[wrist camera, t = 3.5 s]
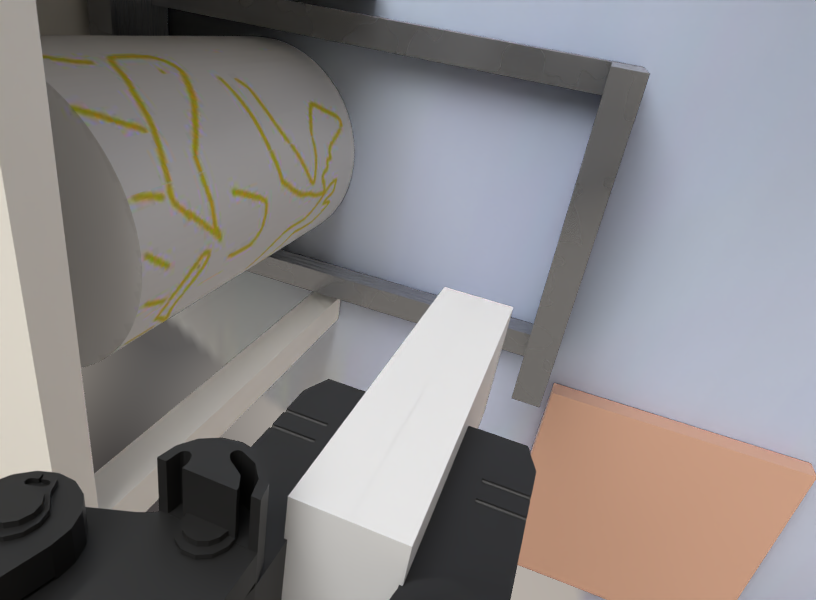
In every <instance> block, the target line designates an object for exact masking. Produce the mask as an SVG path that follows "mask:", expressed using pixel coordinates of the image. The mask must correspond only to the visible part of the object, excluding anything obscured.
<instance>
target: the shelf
mask: <svg viewBox="0 0 816 600" xmlns="http://www.w3.org/2000/svg"><path fill="white" fill-rule="evenodd" d="M40 35H90V26H89V15H88V3H87V0H0V479H1V478H4V477H7V476H9V475H12V474H18V473H25V472H32V471H45V472H55V473H60V474H62V475H64V476H66V477H68V478H71V479H73V480H75V481H76V482H77V484H78V486H79V487H80V489H81V490H82V492H83V493H84V499H85V507H92V508H102V509H112V510H121V511H131V512H146V511H147V510H148V509H149V508H150V507H151V506H152V505H153V504H154V503H155V502H156V501H157V500H158V499H159V493H158V470H157V457H158V456H160V455H162V454H163V453H165V452H166V451H168V450H169V449H171V448H173V447H174V446H176V445H179V444H182V443H186V442H189V441H192V440H195V439H200V438H220V437H221V436H222V435H223V434H224V433H225V432H226V431H227V430H228V429H229V428H230V427H231V426H232V425H233V424H234V423H235V422H236V421H237V420H238V419H239V418H240V417H241V416H242V414H244V413H245V412H246V411H247V410H248V409H249V408H250V407H251V406H252V405H253V404H254V403H255V402H256V401H257V400H258V399H259V398H260V397H261V396H262V395H263V394H264V393H265V392H266V391H267V390H268V389H269V388H270V387H271V386H272V385H273V384H274V383H275V382H276V381H277V380H278V379H279V378H280V377H281V376H282V375H283V374H284V373H285V372H286V371H287V370H288V369H289V368H290V367H291V366H292V365H293V364H294V363H295V362H296V361H297V360H298V359H299V358H300V357H301V356H302V355H303V354H304V353H305V352H306V351H307V350H308V349H309V348H310V347H311V346H312V345H313V344H314V343H315V342H316V341H317V340H318V339H319V338H320V337H321V336H322V335H323V334H324V333H325V332H326V331H327V330H328V329H329V328H330V327H331V326H332V325H333V324H334V323H335V322H336V321H337V320H338V317H339V308H340V299H337V298H333V297H330V296H327V295H324V294H320V293H317V292H312V293H311V294H310V295H309V296H308V297H306V298H305V299H304V300H303V301H302V302H300V303H299V304H298V305H297V306H296V307H294V308H293V309H292V310H291V311H290V312H288V313H287V314H286V315H285V316H284V317H282V318H281V319H280V320H279V321H278V322H276V323H275V324H274V325H273V326H272V327H270V328H269V329H268V330H267V331H265V332H264V333H263V334H262V335H261V336H259V337H258V338H257V339H256V340H255V341H253V342H252V343H251V344H250V345H249V346H247V347H246V348H245V349H244V350H243V351H241V352H240V353H239V354H238V355H237V356H235V357H234V358H233V359H232V360H231V361H229V362H228V363H227V364H226V365H225V366H223V367H222V368H221V369H220V370H219V371H217V372H216V373H215V374H214V375H213V376H211V377H210V378H209V379H208V380H206V381H205V382H204V383H203V384H202V385H201V386H199V387H198V388H197V389H196V390H195V391H193V392H192V393H191V394H190V395H189V396H187V397H186V398H185V399H184V400H183V401H181V402H180V403H179V404H178V405H177V406H175V407H174V408H173V409H172V410H171V411H169V412H168V413H167V414H166V415H164V416H163V417H162V418H161V419H160V420H158V421H157V422H156V423H155V424H154V425H152V426H151V427H150V428H149V429H147V430H146V431H145V432H144V433H143V434H142V435H140V436H139V437H138V438H137V439H135V440H134V441H133V442H132V443H131V444H129V445H128V446H127V447H126V448H125V449H123V450H122V451H121V452H120V453H119V454H117V455H116V456H115V457H114V458H113V459H111V460H110V461H109V462H108V463H107V464H105V465H104V466H103V467H102V468H101V469H99V470H98V471H97V472H96V473H95V474H94V469H93V461H92V453H91V445H90V437H89V429H88V421H87V413H86V404H85V396H84V388H83V380H82V372H81V364H80V356H79V348H78V340H77V331H76V323H75V315H74V307H73V299H72V291H71V283H70V275H69V267H68V259H67V250H66V242H65V234H64V226H63V218H62V210H61V202H60V194H59V186H58V178H57V170H56V161H55V153H54V145H53V137H52V129H51V121H50V113H49V105H48V97H47V89H46V80H45V72H44V64H43V56H42V48H41V40H40Z"/></svg>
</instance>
